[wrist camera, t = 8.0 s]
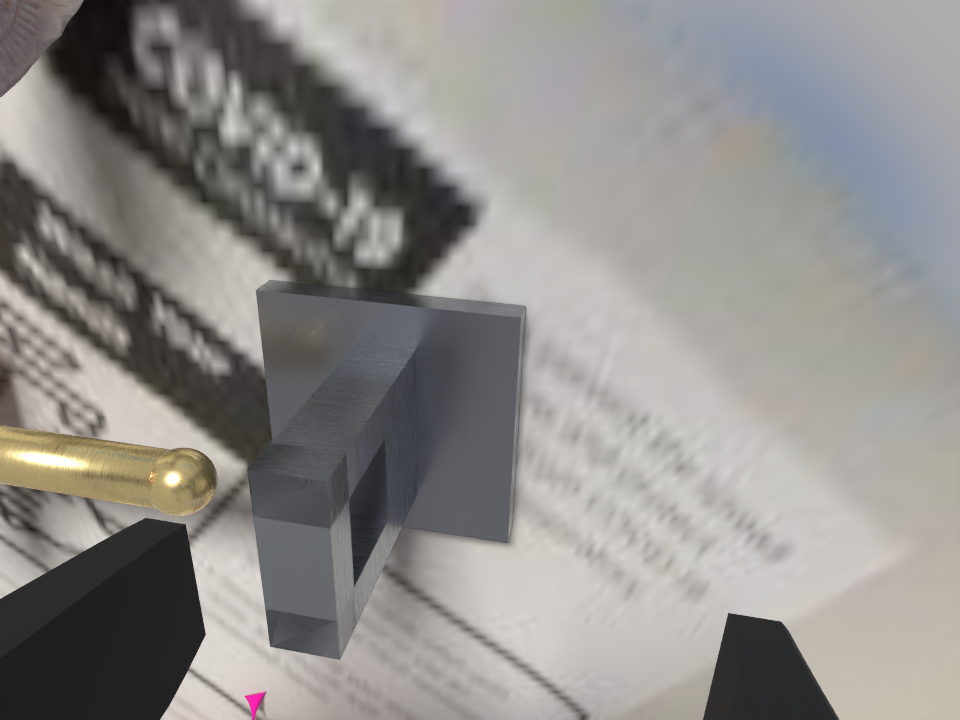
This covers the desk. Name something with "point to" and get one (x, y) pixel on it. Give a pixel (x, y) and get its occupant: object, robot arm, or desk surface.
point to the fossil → (29, 34)
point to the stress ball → (254, 702)
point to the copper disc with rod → (107, 470)
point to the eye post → (375, 442)
